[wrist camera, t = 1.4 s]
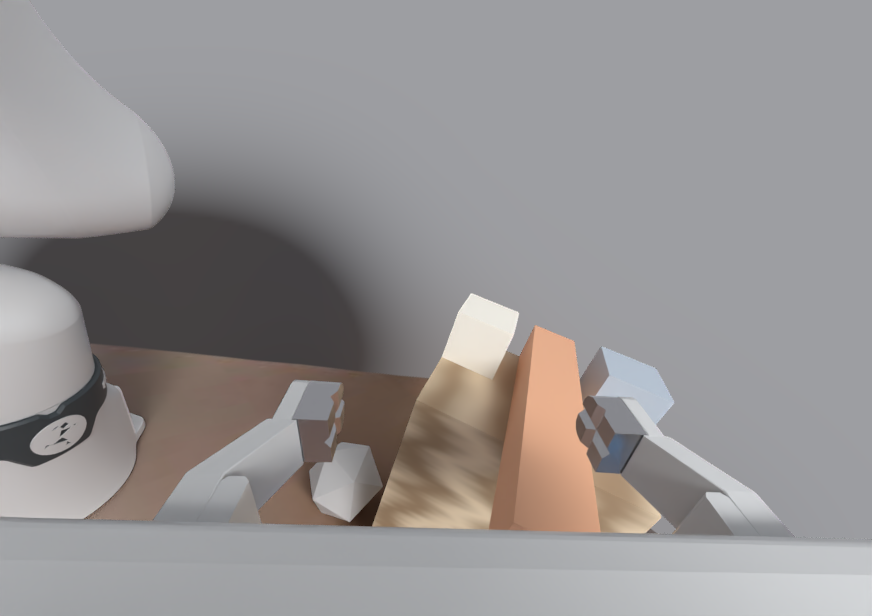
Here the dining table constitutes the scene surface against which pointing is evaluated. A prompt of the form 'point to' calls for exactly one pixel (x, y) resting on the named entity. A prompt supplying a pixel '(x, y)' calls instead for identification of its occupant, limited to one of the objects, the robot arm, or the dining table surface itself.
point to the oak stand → (476, 458)
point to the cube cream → (481, 335)
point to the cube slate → (626, 382)
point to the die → (345, 481)
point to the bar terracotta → (545, 445)
